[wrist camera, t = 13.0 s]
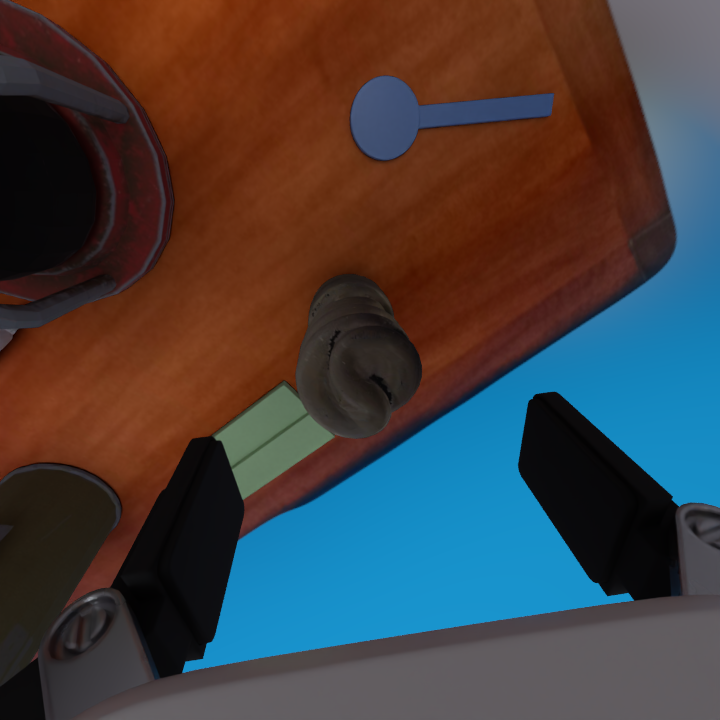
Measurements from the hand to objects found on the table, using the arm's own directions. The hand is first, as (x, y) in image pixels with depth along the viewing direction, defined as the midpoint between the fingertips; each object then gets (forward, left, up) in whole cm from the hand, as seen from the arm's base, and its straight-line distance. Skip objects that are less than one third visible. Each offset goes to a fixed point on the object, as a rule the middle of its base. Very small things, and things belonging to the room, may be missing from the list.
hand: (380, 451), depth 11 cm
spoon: (-8, -11, -18) cm, 23 cm away
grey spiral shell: (0, 0, -19) cm, 19 cm away
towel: (+9, +13, -18) cm, 24 cm away
